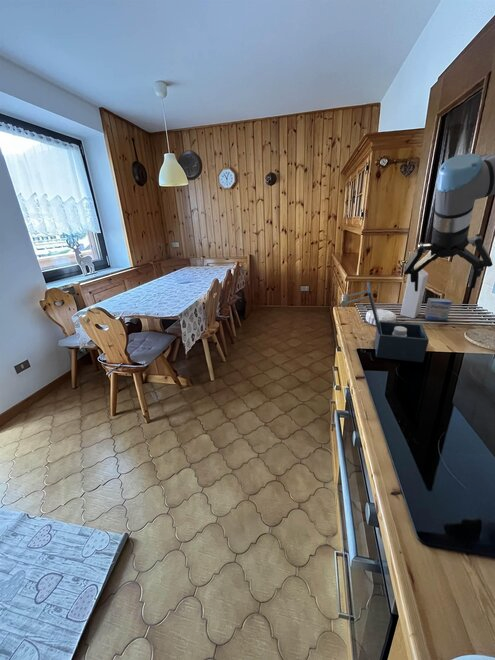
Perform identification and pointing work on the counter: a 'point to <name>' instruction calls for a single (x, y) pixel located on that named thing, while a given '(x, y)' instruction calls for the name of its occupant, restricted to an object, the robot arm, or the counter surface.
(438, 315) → the medicine box
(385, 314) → the mooncake
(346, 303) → the compartment lid
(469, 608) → the counter surface
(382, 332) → the compartment
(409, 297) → the milk
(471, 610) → the counter surface
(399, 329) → the supplement bottle
